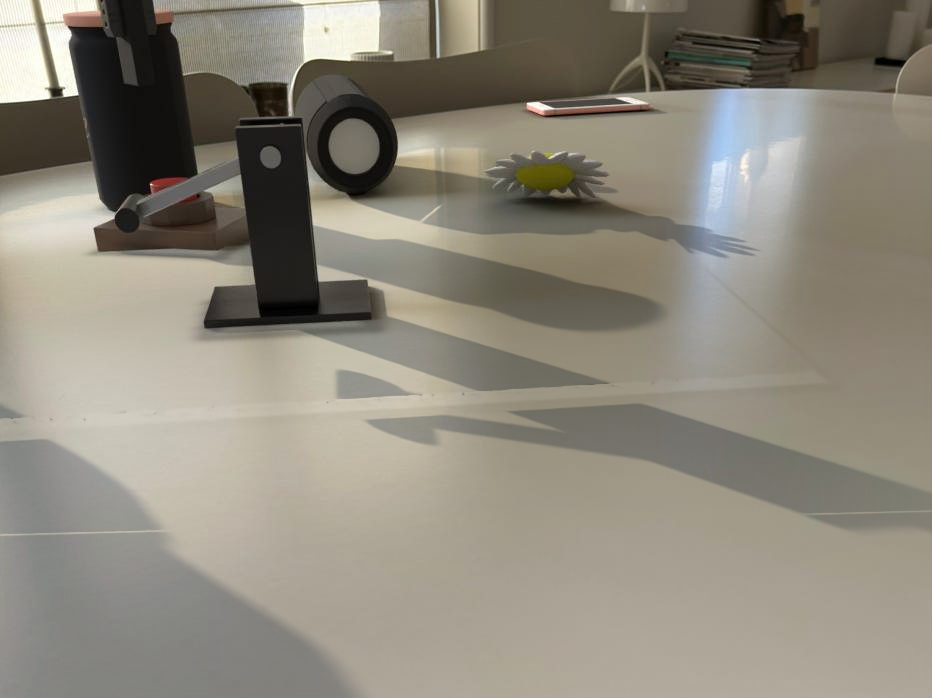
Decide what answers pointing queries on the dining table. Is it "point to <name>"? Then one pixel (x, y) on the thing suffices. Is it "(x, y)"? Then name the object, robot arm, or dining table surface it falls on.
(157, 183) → the button
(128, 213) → the lever
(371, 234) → the dining table surface
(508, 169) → the decorative flower
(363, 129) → the portable speaker
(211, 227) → the button box
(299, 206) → the bracket
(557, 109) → the cell phone
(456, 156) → the dining table surface
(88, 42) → the coffee jar
